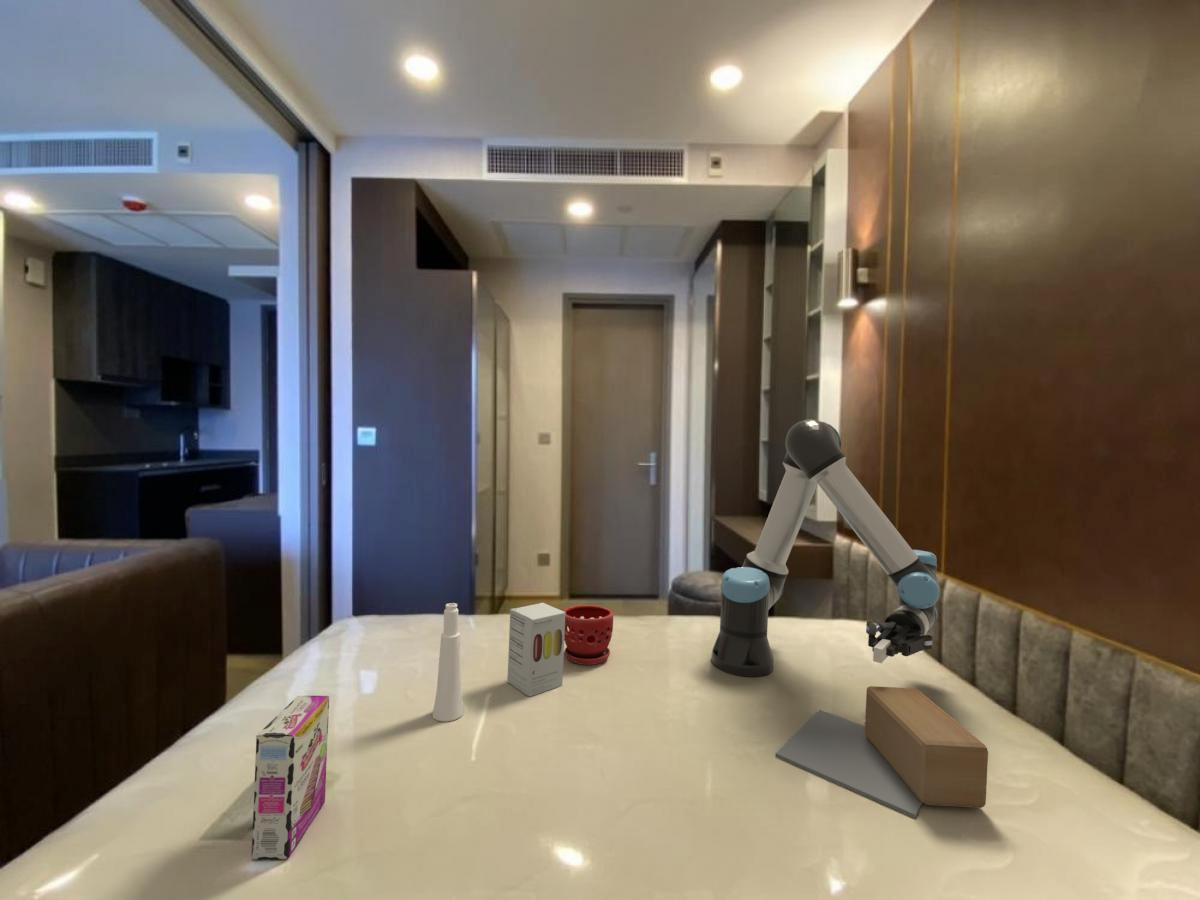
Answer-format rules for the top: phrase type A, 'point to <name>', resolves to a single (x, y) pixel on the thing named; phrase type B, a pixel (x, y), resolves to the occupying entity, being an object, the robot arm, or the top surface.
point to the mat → (848, 761)
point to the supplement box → (536, 648)
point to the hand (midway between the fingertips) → (877, 655)
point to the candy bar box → (289, 777)
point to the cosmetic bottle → (449, 670)
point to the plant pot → (588, 634)
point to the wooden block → (927, 747)
